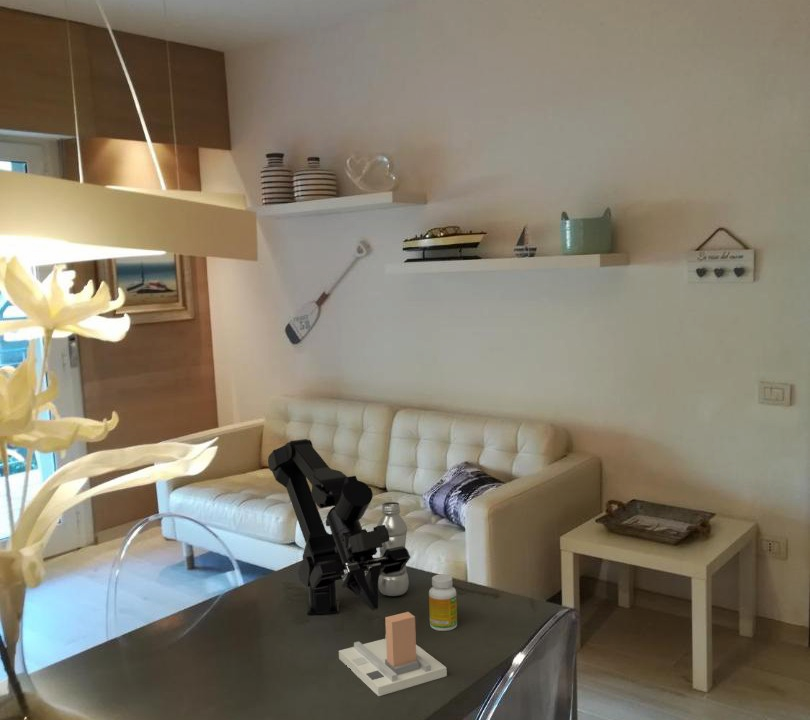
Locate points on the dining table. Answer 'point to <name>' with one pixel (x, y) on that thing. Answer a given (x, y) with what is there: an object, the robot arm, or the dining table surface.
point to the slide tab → (401, 643)
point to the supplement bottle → (442, 603)
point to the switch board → (379, 676)
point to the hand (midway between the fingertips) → (375, 609)
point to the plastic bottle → (397, 537)
